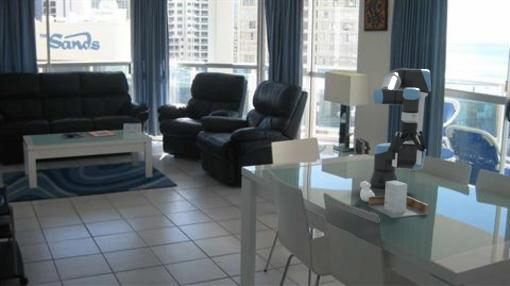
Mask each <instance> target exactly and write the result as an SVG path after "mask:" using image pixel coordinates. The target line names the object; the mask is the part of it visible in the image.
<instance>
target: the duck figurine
mask: <svg viewBox="0 0 510 286" xmlns="http://www.w3.org/2000/svg"><path fill="white" fill-rule="evenodd" d="M359 186H360V188H361V190H360V191H359V192H360V194H359V196H360V198H361V200H362V201H363V202H365V203H366V202H367V203H369V197H373V196H376V195H375V193H374V192H373V190H372V189H371V187H372V186H371V184H370V182H369V181H367V180H364V181H363V180H362V181H360V184H359Z"/></svg>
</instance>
